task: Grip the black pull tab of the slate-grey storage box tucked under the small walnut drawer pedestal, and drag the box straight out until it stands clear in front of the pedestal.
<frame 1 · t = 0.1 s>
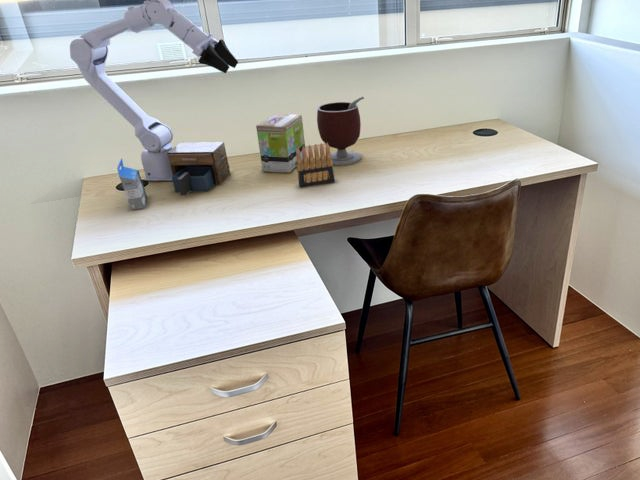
hand: (232, 67, 158), 32 cm above the table, tool tilted 50°, fingers open, 7 cm apart
ammunition clip: (317, 184, 168), on the table
drawer pedestal: (203, 179, 174), on the table
storage box: (197, 185, 170), on the table
label tape box: (139, 204, 159), on the table
tea box: (285, 165, 184), on the table
mate gourd: (344, 159, 187), on the table
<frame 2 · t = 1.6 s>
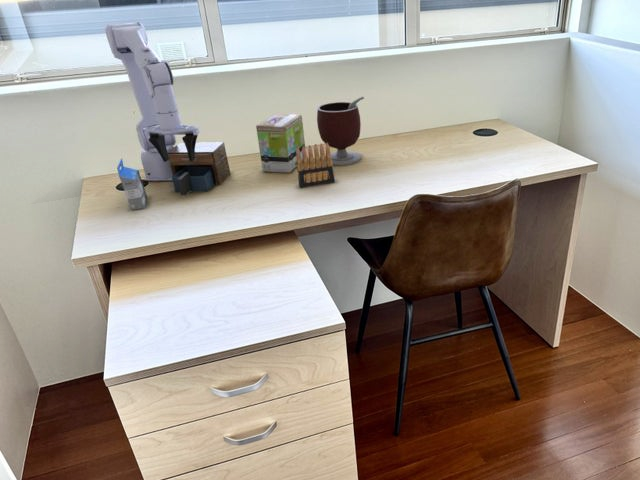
hand: (179, 160, 158), 11 cm above the table, tool pointing down, fingers open, 7 cm apart
nothing on the table moved.
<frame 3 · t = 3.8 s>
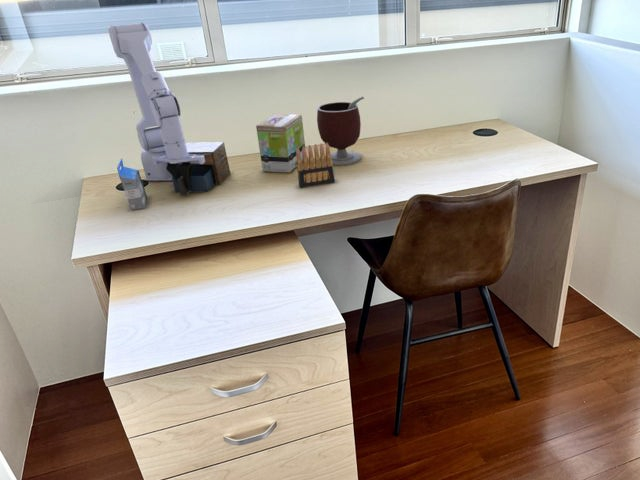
hand: (185, 187, 162), 2 cm above the table, tool pointing down, fingers closed on storage box
storage box: (197, 185, 170), on the table, touching gripper
everything else where it was.
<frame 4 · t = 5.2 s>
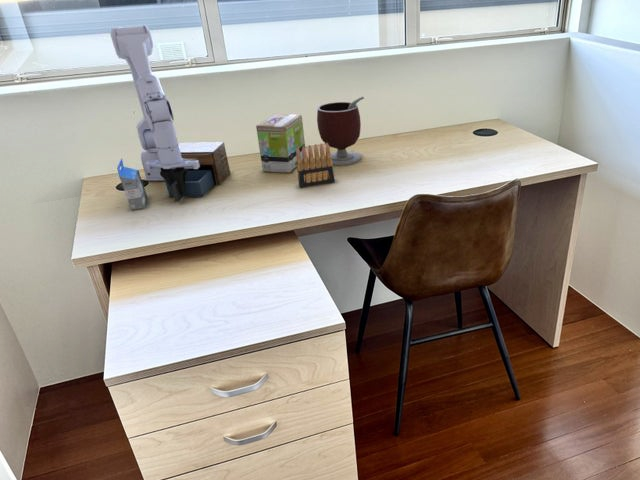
hand: (179, 193, 158), 2 cm above the table, tool pointing down, fingers closed on storage box
storage box: (192, 190, 167), on the table, touching gripper
everything else where it was.
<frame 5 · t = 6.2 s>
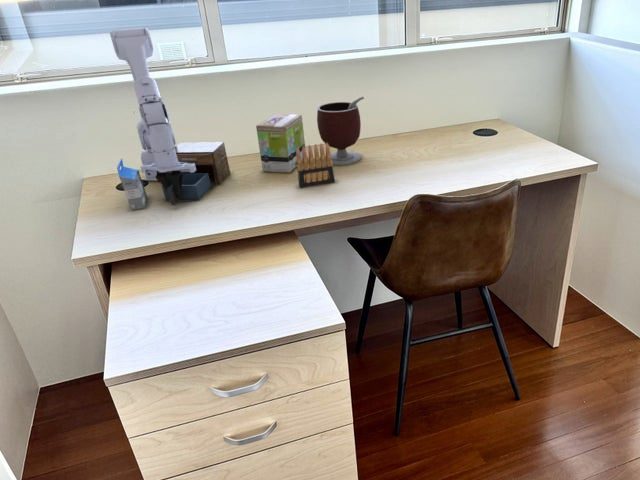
hand: (176, 196, 156), 2 cm above the table, tool pointing down, fingers closed on storage box
storage box: (189, 193, 164), on the table, touching gripper
everything else where it was.
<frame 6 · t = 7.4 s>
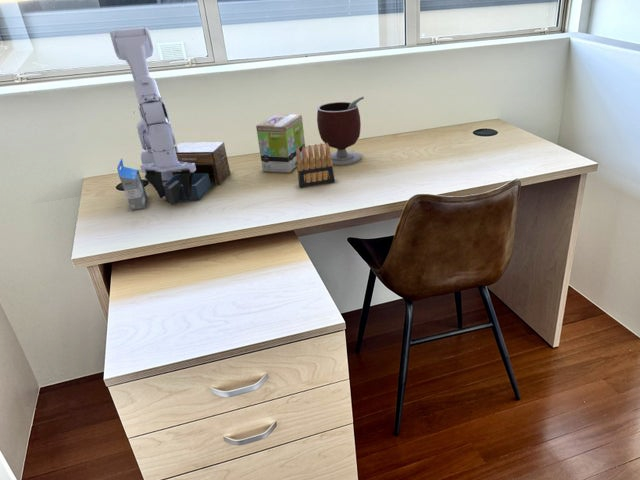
hand: (176, 196, 156), 2 cm above the table, tool pointing down, fingers open, 7 cm apart
storage box: (189, 194, 164), on the table
everything else where it was.
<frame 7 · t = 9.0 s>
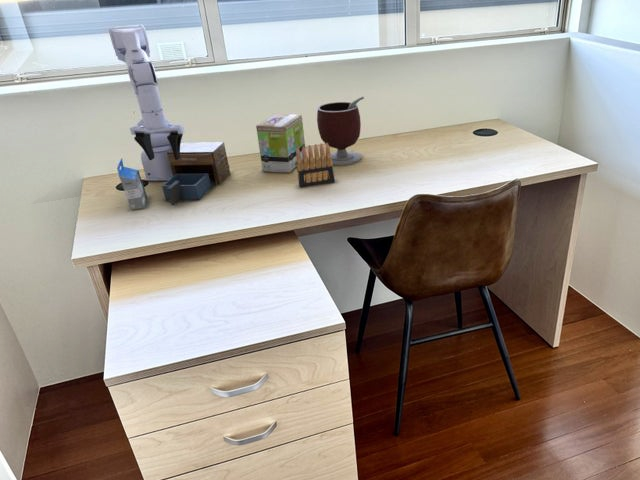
hand: (164, 158, 160), 10 cm above the table, tool pointing down, fingers open, 7 cm apart
nothing on the table moved.
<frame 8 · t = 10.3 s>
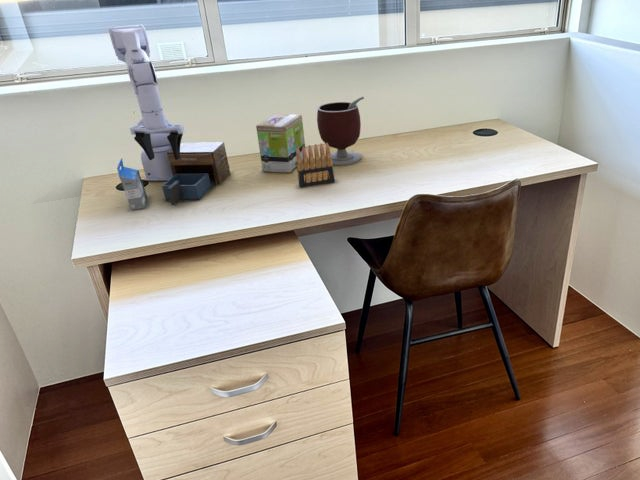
hand: (164, 158, 160), 10 cm above the table, tool pointing down, fingers open, 7 cm apart
nothing on the table moved.
at the end: storage box 1.5 cm from the target spot, on the table; storage box moved 7.0 cm from its start; storage box tilted 0° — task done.
